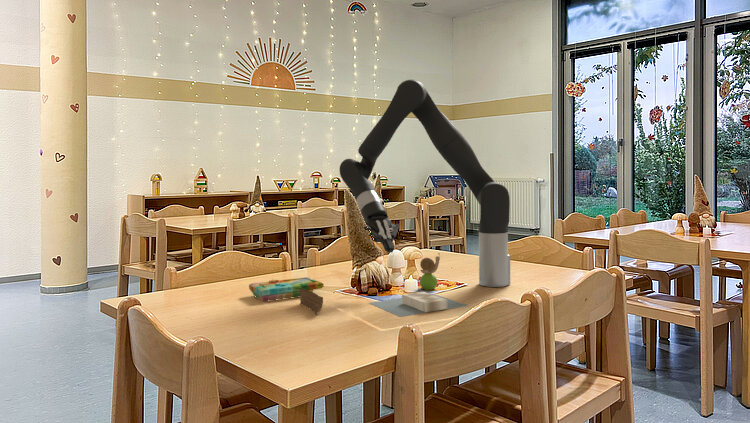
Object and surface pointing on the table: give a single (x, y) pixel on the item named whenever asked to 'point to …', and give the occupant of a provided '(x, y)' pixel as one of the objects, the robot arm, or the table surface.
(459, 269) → the table surface
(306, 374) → the table surface
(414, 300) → the picture domino
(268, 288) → the puzzle game
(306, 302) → the wood plank
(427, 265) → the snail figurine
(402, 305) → the felt mat
